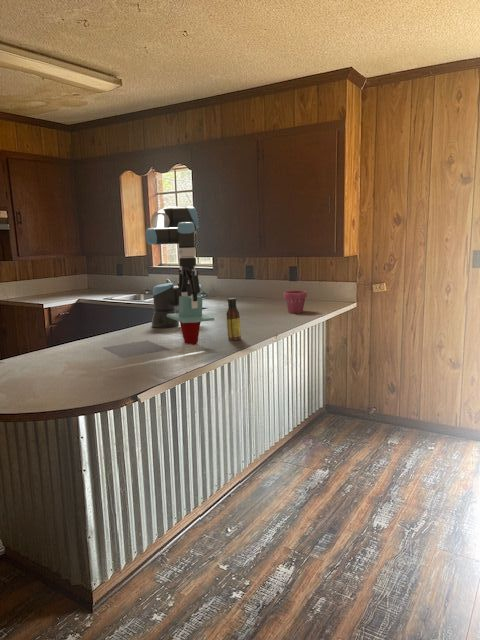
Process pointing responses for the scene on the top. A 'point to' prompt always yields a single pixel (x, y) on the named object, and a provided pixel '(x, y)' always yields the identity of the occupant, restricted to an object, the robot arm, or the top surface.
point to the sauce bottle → (233, 320)
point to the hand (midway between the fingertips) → (189, 307)
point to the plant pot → (295, 300)
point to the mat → (135, 348)
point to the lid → (190, 311)
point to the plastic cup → (190, 332)
